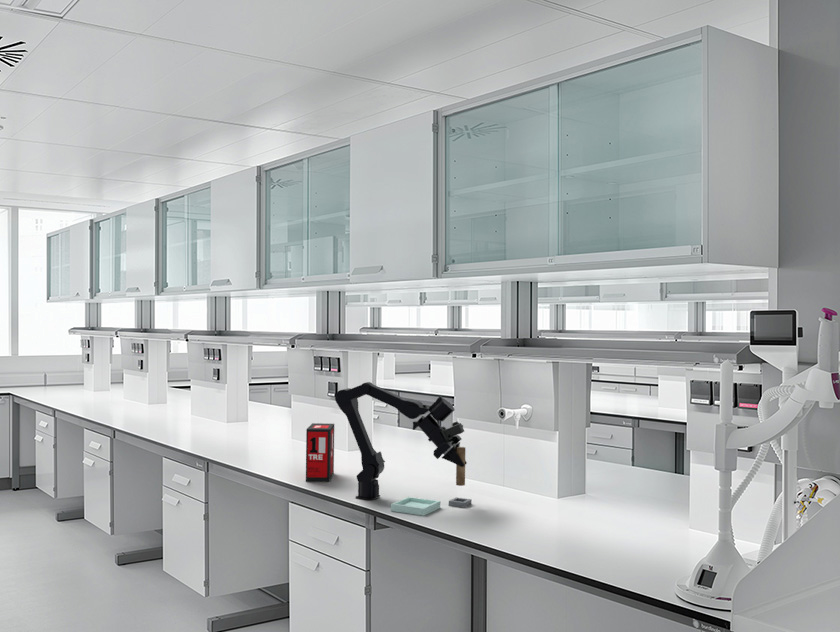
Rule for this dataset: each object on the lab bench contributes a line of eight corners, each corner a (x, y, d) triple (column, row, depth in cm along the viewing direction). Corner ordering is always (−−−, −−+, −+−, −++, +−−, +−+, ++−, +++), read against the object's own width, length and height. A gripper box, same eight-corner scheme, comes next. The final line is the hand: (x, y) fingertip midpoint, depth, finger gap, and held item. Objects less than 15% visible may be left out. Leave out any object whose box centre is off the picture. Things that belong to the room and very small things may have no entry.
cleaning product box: (311, 473, 310) (312, 423, 310) (333, 473, 310) (334, 423, 310) (305, 481, 293) (306, 429, 293) (329, 482, 293) (329, 429, 293)
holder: (448, 505, 258) (448, 500, 258) (455, 502, 263) (455, 497, 264) (464, 507, 256) (464, 502, 256) (471, 504, 261) (471, 499, 261)
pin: (454, 485, 259) (455, 447, 259) (458, 483, 262) (458, 446, 262) (462, 486, 258) (463, 448, 258) (466, 484, 260) (466, 447, 260)
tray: (390, 510, 250) (391, 504, 250) (408, 503, 261) (408, 496, 261) (423, 515, 245) (423, 508, 245) (440, 507, 255) (440, 501, 255)
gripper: (443, 418, 252) (476, 453, 249) (456, 411, 270) (486, 444, 267) (419, 440, 254) (452, 476, 251) (434, 432, 272) (464, 466, 269)
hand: (464, 465), depth 259 cm, fingers closed on pin, 3 cm apart
